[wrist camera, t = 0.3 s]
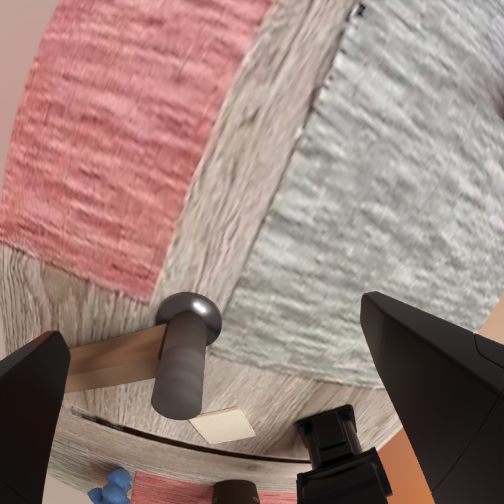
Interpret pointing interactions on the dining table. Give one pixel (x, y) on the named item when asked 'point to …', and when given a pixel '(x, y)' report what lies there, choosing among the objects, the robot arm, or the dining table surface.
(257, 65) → the dining table surface
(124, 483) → the grapes
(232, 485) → the coffee mug
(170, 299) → the hinge base
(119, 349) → the gate
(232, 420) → the open pad
